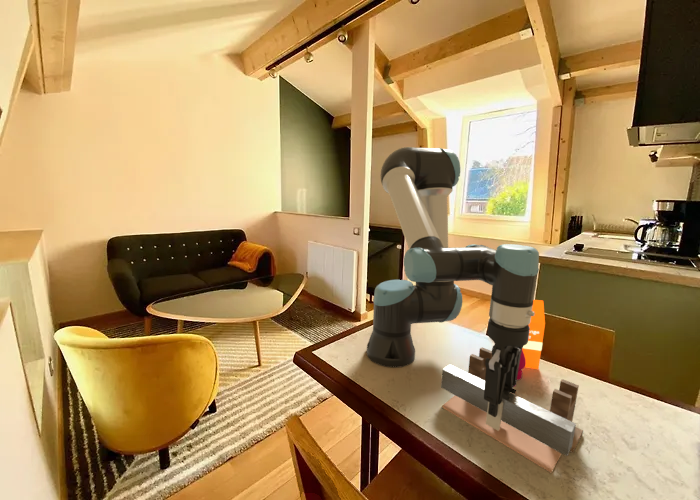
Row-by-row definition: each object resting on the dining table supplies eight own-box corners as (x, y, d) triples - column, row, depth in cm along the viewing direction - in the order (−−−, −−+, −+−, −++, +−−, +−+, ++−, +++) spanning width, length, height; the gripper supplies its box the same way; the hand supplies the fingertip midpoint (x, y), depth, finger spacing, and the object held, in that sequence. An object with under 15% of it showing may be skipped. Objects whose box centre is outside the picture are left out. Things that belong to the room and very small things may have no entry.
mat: (441, 407, 74) (441, 405, 74) (454, 396, 78) (454, 395, 78) (551, 473, 57) (551, 471, 57) (560, 455, 61) (561, 453, 61)
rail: (441, 387, 75) (442, 369, 74) (448, 382, 77) (449, 364, 76) (567, 456, 56) (571, 432, 55) (571, 446, 58) (575, 423, 57)
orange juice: (500, 351, 100) (508, 293, 96) (531, 356, 98) (539, 296, 94) (506, 364, 92) (514, 301, 89) (538, 369, 90) (548, 305, 86)
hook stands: (458, 391, 80) (461, 352, 77) (471, 380, 84) (475, 343, 82) (573, 453, 61) (582, 404, 59) (582, 435, 66) (590, 389, 64)
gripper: (512, 340, 54) (498, 453, 59) (543, 316, 65) (529, 414, 69) (471, 325, 60) (461, 430, 64) (506, 306, 70) (495, 397, 75)
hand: (496, 421), depth 67 cm, fingers closed on rail, 3 cm apart
